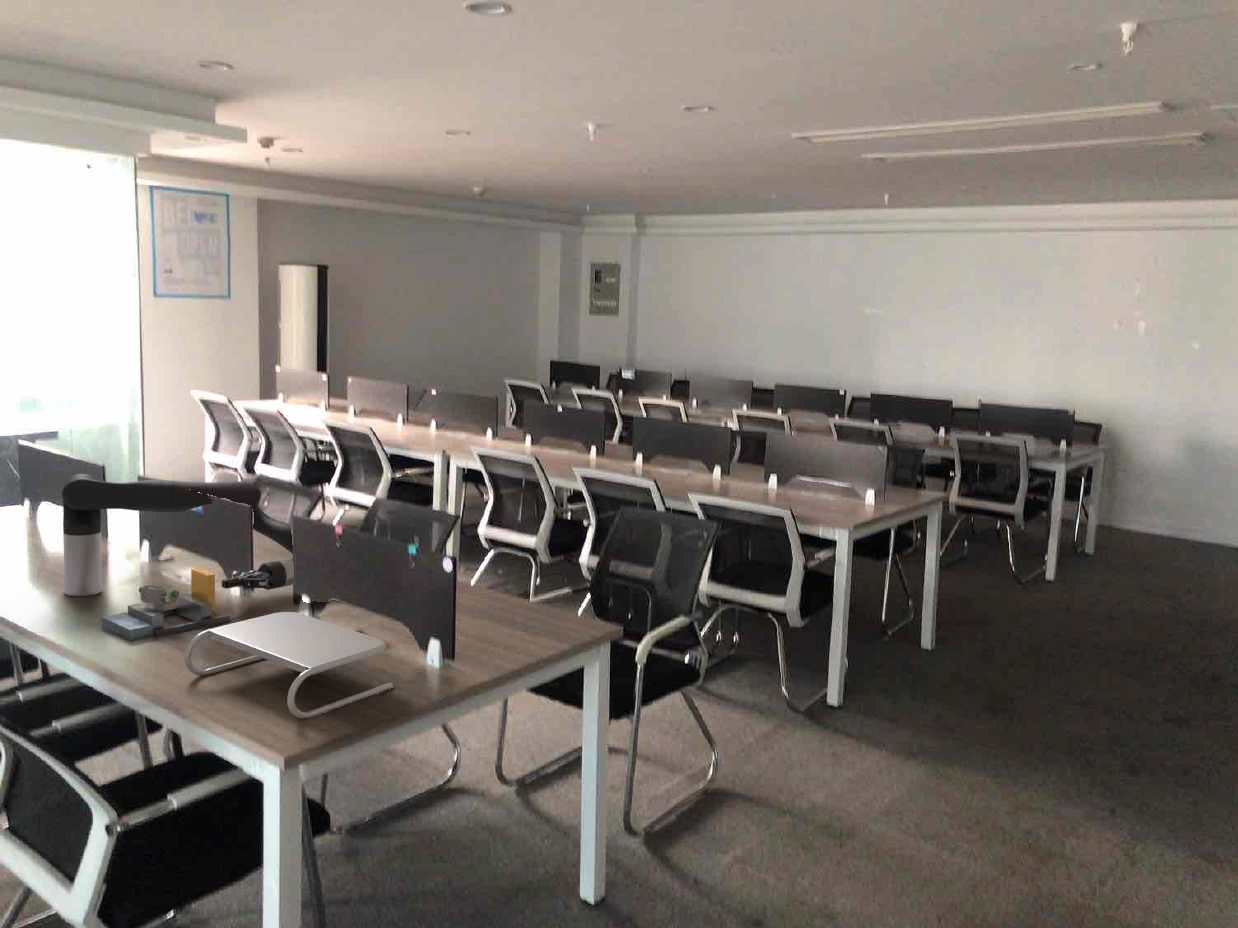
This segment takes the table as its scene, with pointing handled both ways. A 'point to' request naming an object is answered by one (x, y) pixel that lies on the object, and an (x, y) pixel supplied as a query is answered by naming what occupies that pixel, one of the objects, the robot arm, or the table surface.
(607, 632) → the table surface
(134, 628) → the vise body
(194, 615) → the free jaw
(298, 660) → the monitor stand
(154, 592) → the mechanical component
